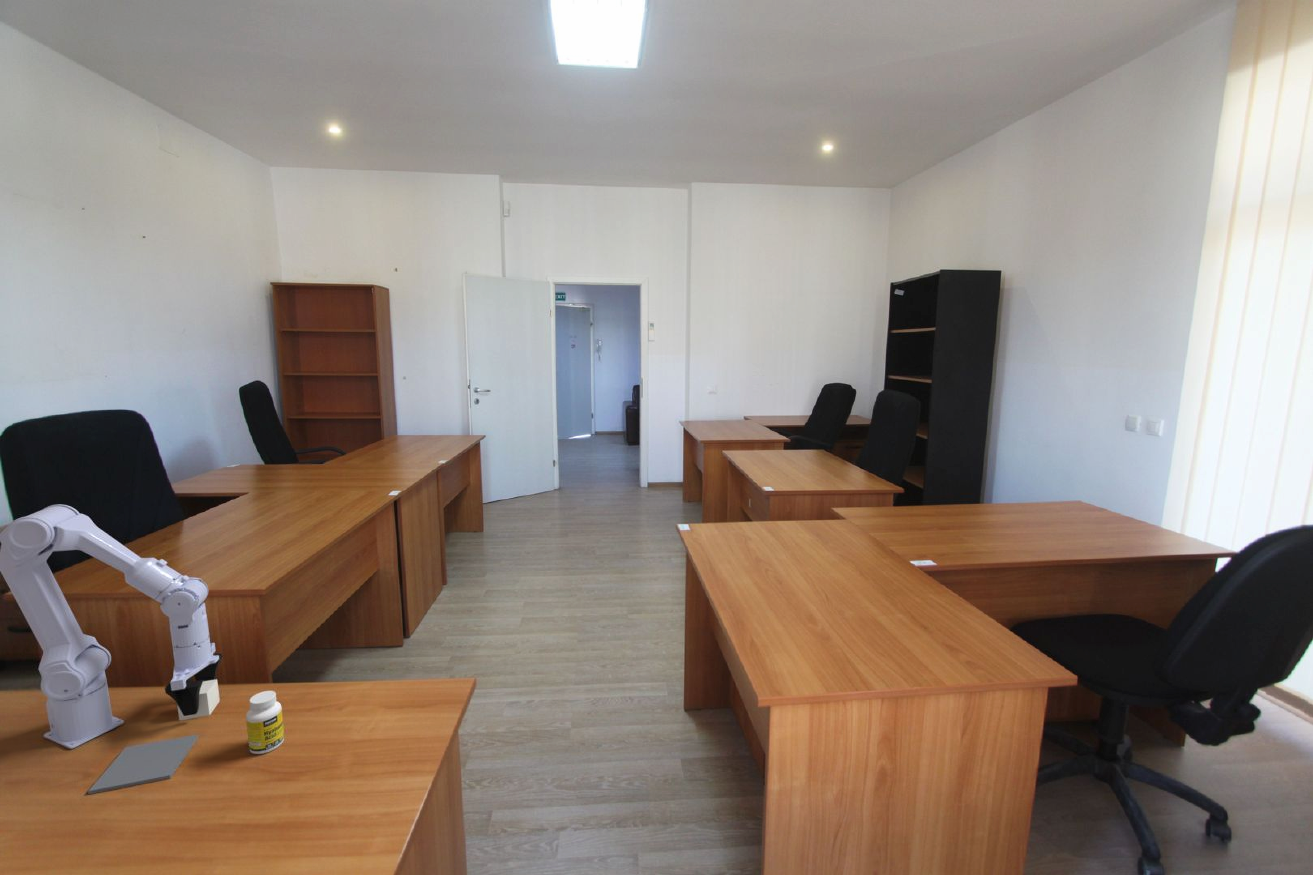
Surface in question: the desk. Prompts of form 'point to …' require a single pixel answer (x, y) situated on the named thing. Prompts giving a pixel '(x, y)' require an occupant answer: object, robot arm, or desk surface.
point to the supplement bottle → (264, 723)
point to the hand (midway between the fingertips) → (199, 702)
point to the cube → (205, 700)
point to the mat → (144, 764)
